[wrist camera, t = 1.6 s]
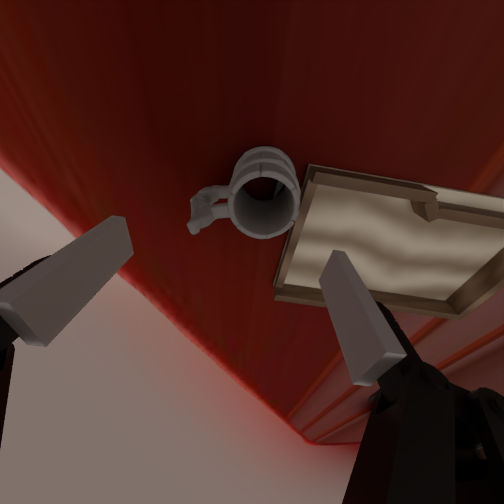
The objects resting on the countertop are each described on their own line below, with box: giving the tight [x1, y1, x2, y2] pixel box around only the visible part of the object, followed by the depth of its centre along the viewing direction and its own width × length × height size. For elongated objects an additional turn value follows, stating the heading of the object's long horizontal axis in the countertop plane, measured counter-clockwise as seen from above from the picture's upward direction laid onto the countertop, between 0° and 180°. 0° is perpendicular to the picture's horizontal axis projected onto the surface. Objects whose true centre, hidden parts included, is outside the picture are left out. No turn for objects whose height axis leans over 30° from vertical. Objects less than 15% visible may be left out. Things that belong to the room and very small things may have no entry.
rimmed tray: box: [273, 164, 504, 320], centre depth 29 cm, size 20×32×4 cm, turn 81°
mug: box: [187, 146, 301, 239], centre depth 20 cm, size 8×12×12 cm, turn 100°
